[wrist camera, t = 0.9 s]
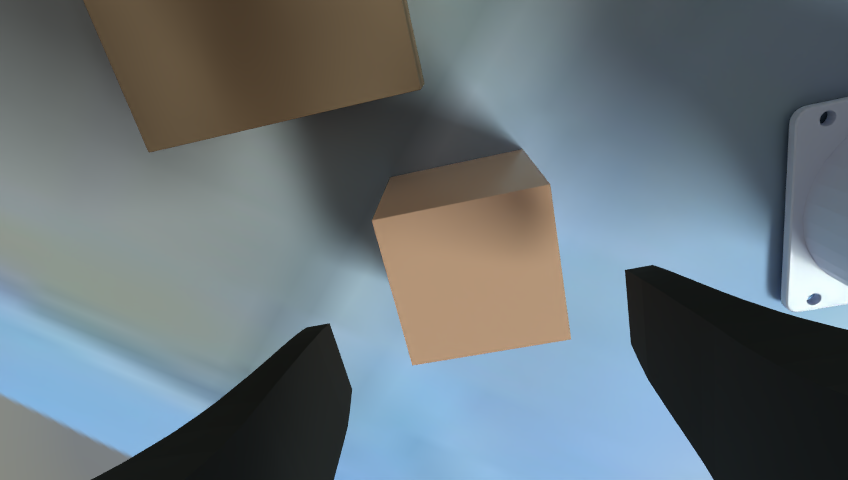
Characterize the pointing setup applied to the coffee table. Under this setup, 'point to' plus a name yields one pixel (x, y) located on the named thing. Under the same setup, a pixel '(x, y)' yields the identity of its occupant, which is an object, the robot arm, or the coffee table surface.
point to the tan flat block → (251, 60)
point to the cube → (473, 257)
